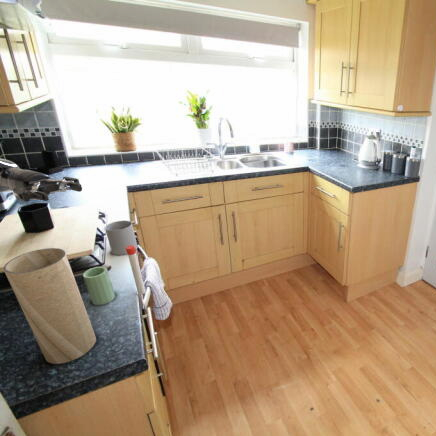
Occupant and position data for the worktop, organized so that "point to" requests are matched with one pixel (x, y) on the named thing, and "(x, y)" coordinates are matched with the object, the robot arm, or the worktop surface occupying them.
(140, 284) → the marker
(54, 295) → the tube
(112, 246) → the cup
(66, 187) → the robot arm
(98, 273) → the green pencil holder
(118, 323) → the worktop surface
